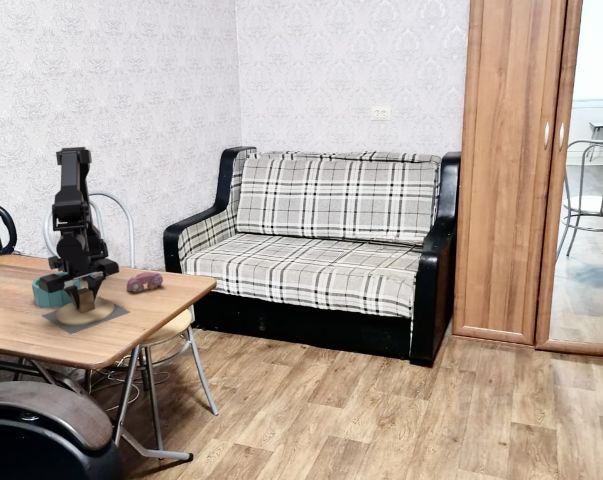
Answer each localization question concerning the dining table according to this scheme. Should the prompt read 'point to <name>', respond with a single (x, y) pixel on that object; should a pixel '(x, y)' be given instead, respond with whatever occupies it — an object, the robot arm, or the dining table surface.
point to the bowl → (52, 295)
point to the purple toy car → (144, 281)
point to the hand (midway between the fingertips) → (84, 306)
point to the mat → (72, 329)
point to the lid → (85, 310)
